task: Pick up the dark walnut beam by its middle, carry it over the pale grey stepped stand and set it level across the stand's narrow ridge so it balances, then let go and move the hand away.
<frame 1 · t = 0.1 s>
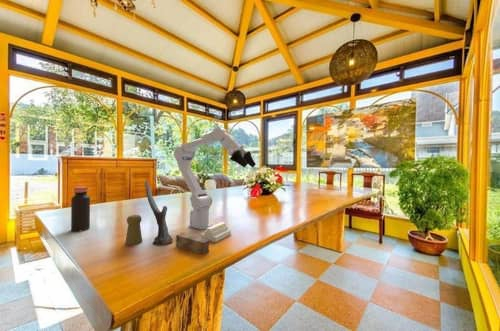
hand: (250, 165, 91), 32 cm above the table, tool tilted 50°, fingers open, 7 cm apart
bottle: (80, 229, 97), on the table
cork: (133, 242, 83), on the table
antler: (157, 242, 84), on the table
ridge stand: (216, 236, 92), on the table
walnut beam: (192, 249, 79), on the table
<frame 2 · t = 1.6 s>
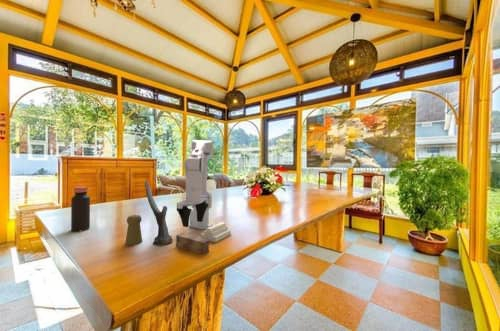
hand: (192, 223, 79), 10 cm above the table, tool pointing down, fingers open, 7 cm apart
nothing on the table moved.
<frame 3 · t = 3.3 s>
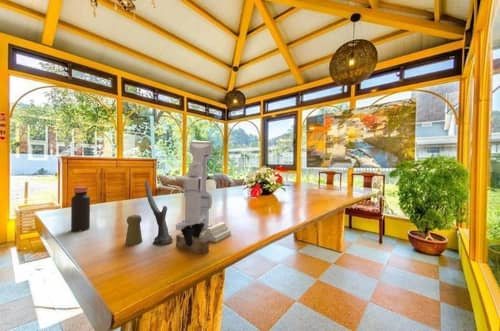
hand: (192, 243, 79), 2 cm above the table, tool pointing down, fingers closed on walnut beam, 3 cm apart
walnut beam: (192, 249, 79), on the table, touching gripper
everything else where it was.
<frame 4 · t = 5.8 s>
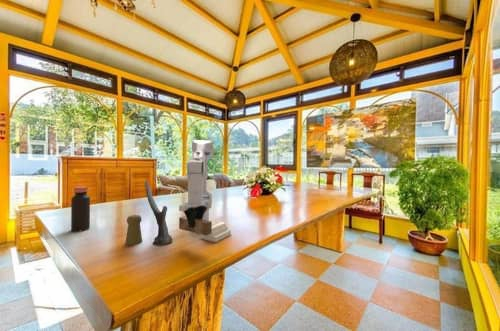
hand: (195, 225, 80), 8 cm above the table, tool pointing down, fingers closed on walnut beam, 3 cm apart
walnut beam: (194, 230, 80), point 6 cm above the table, touching gripper
everything else where it was.
when the fingers open (7 cm above the table, at t = 8.0 s): walnut beam stays where it is, resting on ridge stand.
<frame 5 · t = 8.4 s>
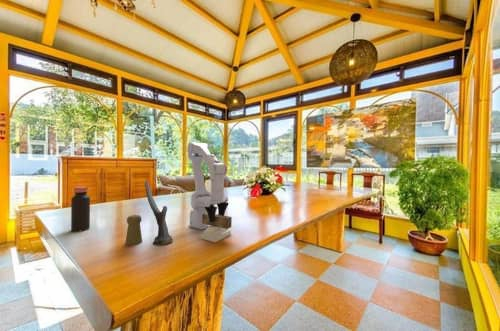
hand: (216, 220, 92), 7 cm above the table, tool pointing down, fingers open, 6 cm apart
walnut beam: (216, 225, 92), point 5 cm above the table, touching ridge stand
everything else where it was.
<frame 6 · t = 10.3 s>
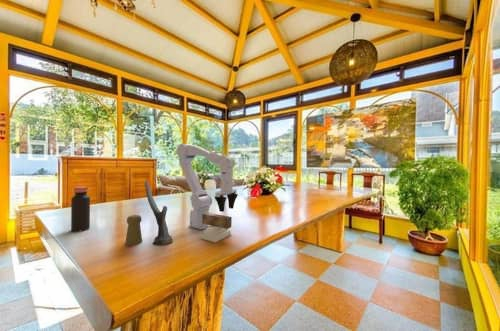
hand: (226, 209, 99), 10 cm above the table, tool pointing down, fingers open, 7 cm apart
nothing on the table moved.
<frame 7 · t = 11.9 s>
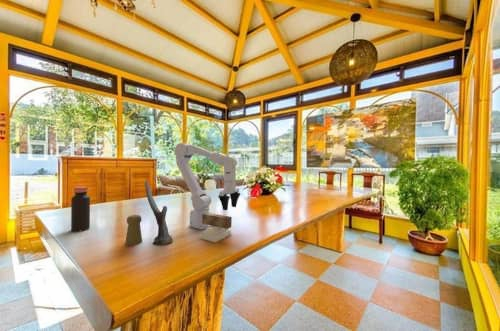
hand: (229, 208, 102), 10 cm above the table, tool pointing down, fingers open, 7 cm apart
nothing on the table moved.
at the end: walnut beam inside the target area on the ridge stand (0.0 cm from its centre), point 5.0 cm above the ridge stand's base; walnut beam tilted 0°; walnut beam touching ridge stand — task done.
